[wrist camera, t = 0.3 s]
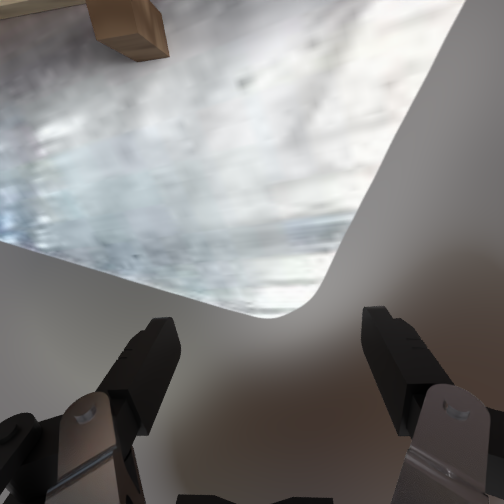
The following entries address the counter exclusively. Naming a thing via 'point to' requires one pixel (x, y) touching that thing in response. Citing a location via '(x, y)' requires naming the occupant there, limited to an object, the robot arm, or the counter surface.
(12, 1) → the board
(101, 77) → the counter surface
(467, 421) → the robot arm
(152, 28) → the brown block with peg
